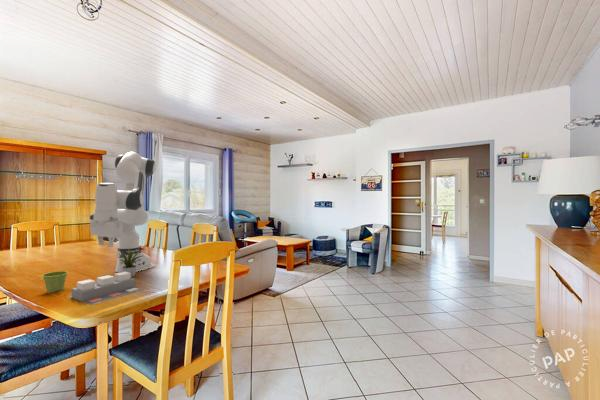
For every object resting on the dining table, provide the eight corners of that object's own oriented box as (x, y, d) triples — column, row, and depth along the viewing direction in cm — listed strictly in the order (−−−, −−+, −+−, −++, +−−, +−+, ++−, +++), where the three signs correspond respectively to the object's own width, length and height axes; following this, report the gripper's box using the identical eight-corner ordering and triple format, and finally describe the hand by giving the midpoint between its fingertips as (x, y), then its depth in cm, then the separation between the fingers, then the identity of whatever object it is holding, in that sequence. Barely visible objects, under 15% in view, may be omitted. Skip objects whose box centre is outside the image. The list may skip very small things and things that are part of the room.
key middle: (107, 285, 136) (108, 275, 136) (113, 287, 134) (113, 276, 134) (96, 288, 132) (96, 277, 132) (102, 290, 129) (102, 279, 129)
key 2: (124, 281, 143) (124, 271, 143) (130, 282, 141) (130, 272, 141) (114, 283, 139) (114, 273, 139) (120, 285, 136) (120, 275, 136)
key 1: (89, 290, 129) (89, 279, 129) (95, 292, 127) (95, 281, 127) (76, 293, 125) (76, 282, 124) (82, 295, 122) (82, 283, 122)
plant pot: (46, 296, 129) (46, 277, 128) (38, 292, 134) (39, 274, 133) (70, 290, 137) (71, 273, 136) (63, 287, 142) (63, 270, 141)
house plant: (129, 282, 151) (129, 252, 151) (107, 280, 153) (107, 251, 153) (148, 275, 165) (148, 247, 165) (127, 273, 167) (128, 246, 167)
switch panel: (120, 285, 147) (120, 275, 146) (144, 291, 137) (144, 281, 137) (67, 298, 126) (67, 287, 126) (91, 307, 117) (91, 295, 117)
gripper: (126, 217, 130) (125, 247, 130) (101, 215, 140) (101, 242, 140) (111, 218, 125) (111, 249, 125) (87, 215, 134) (86, 244, 134)
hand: (105, 245), depth 132 cm, fingers open, 6 cm apart
